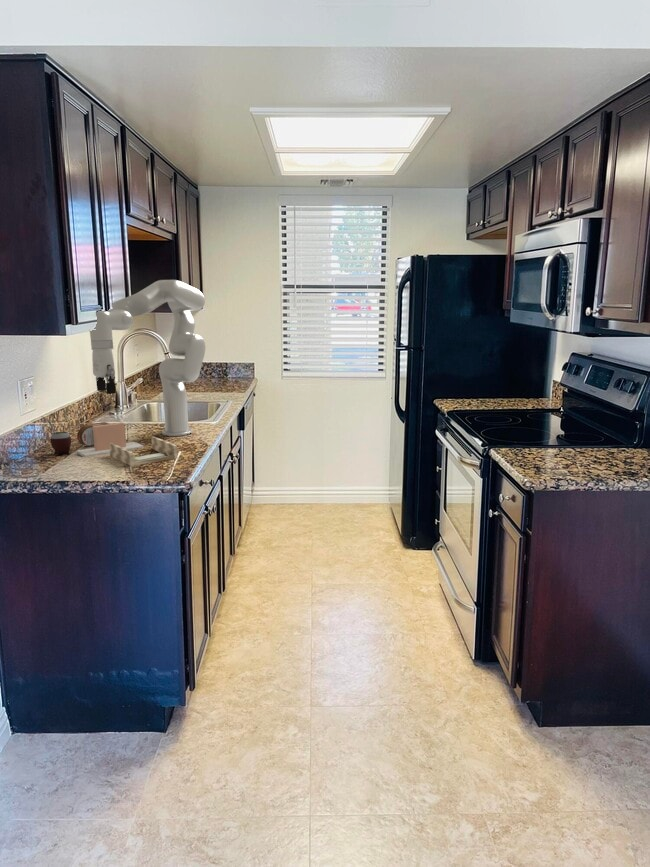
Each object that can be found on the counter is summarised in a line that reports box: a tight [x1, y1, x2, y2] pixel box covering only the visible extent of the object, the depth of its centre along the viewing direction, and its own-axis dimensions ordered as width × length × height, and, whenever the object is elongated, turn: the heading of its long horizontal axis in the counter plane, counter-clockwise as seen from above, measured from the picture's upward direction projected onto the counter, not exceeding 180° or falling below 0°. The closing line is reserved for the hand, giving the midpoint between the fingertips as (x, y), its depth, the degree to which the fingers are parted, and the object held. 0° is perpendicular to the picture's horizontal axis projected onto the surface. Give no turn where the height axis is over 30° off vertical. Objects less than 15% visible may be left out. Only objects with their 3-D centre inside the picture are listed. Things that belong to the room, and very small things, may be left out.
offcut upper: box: [134, 452, 166, 461], centre depth 217 cm, size 4×10×1 cm, turn 132°
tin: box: [76, 421, 109, 447], centre depth 242 cm, size 15×3×8 cm, turn 141°
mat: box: [76, 441, 144, 458], centre depth 233 cm, size 9×22×1 cm, turn 129°
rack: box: [109, 436, 178, 467], centre depth 221 cm, size 19×17×5 cm
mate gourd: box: [40, 415, 72, 457], centre depth 226 cm, size 8×8×15 cm
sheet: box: [93, 422, 127, 451], centre depth 231 cm, size 2×11×9 cm, turn 129°
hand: (106, 392), depth 228 cm, fingers open, 9 cm apart
